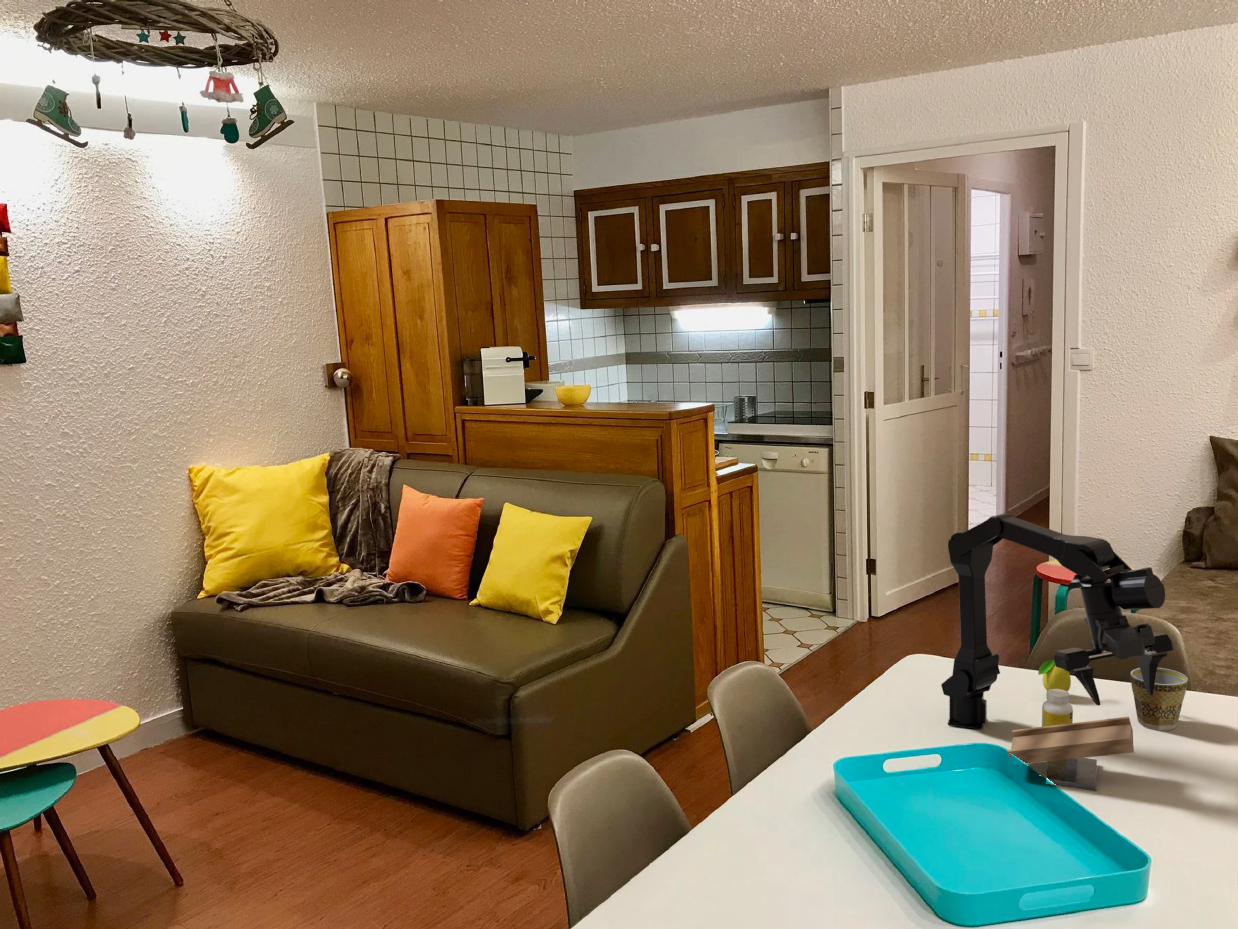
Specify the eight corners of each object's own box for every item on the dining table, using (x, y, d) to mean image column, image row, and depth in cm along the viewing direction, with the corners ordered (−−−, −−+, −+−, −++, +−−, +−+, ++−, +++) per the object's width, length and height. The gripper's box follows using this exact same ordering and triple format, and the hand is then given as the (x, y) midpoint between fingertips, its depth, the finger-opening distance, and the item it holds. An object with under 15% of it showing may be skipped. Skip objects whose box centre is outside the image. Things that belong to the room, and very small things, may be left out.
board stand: (1045, 784, 179) (1045, 759, 179) (1048, 758, 189) (1049, 735, 188) (1095, 791, 176) (1096, 766, 175) (1096, 764, 186) (1097, 741, 185)
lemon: (1076, 694, 219) (1076, 649, 217) (1071, 703, 214) (1072, 657, 212) (1042, 689, 222) (1043, 645, 221) (1037, 698, 217) (1038, 653, 216)
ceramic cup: (1196, 733, 197) (1198, 683, 195) (1144, 735, 197) (1145, 685, 195) (1162, 708, 209) (1163, 661, 208) (1113, 709, 210) (1114, 663, 208)
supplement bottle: (1075, 747, 193) (1076, 698, 192) (1044, 746, 194) (1045, 697, 193) (1068, 736, 198) (1069, 687, 197) (1039, 735, 199) (1039, 687, 198)
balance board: (1011, 765, 182) (1007, 751, 182) (1016, 743, 191) (1012, 730, 191) (1133, 752, 173) (1129, 738, 173) (1132, 730, 182) (1128, 716, 182)
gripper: (1069, 625, 171) (1090, 718, 170) (1179, 603, 171) (1202, 696, 170) (1044, 620, 182) (1064, 707, 181) (1147, 600, 182) (1168, 687, 181)
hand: (1124, 700), depth 178 cm, fingers open, 9 cm apart
